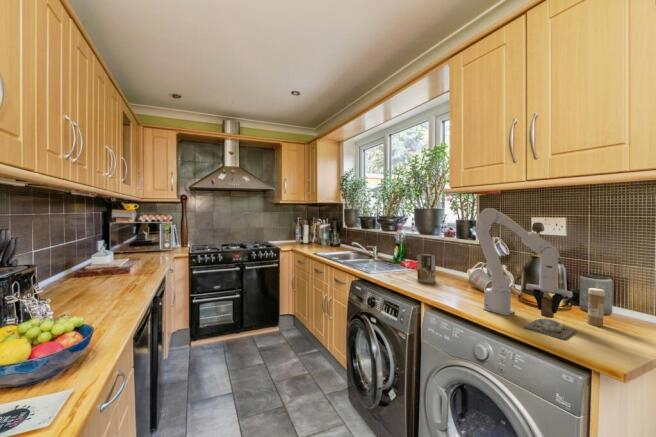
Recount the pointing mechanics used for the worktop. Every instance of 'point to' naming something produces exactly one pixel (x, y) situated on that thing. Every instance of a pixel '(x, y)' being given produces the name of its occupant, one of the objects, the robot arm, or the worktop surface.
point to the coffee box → (426, 268)
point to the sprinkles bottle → (596, 306)
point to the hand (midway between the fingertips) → (547, 311)
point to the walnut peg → (547, 307)
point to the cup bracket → (550, 328)
